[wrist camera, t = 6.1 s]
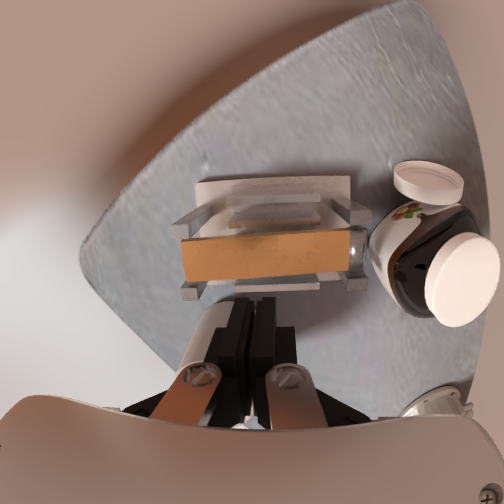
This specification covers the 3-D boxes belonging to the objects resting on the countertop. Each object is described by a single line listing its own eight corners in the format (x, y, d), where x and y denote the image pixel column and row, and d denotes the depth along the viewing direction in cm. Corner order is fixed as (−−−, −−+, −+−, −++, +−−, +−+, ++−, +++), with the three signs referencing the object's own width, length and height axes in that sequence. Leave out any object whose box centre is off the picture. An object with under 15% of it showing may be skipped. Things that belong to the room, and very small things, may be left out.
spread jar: (381, 291, 28) (426, 358, 17) (332, 201, 25) (374, 233, 14) (462, 234, 25) (529, 272, 14) (424, 142, 22) (501, 141, 11)
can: (216, 285, 29) (184, 359, 17) (280, 316, 29) (281, 400, 18) (191, 335, 31) (157, 411, 20) (248, 361, 32) (237, 443, 20)
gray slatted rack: (347, 175, 24) (380, 183, 16) (345, 275, 27) (369, 319, 19) (197, 182, 25) (163, 193, 17) (208, 280, 29) (185, 325, 21)
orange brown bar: (362, 225, 20) (371, 230, 18) (360, 262, 21) (368, 270, 19) (183, 237, 20) (179, 243, 18) (189, 275, 21) (185, 284, 19)
